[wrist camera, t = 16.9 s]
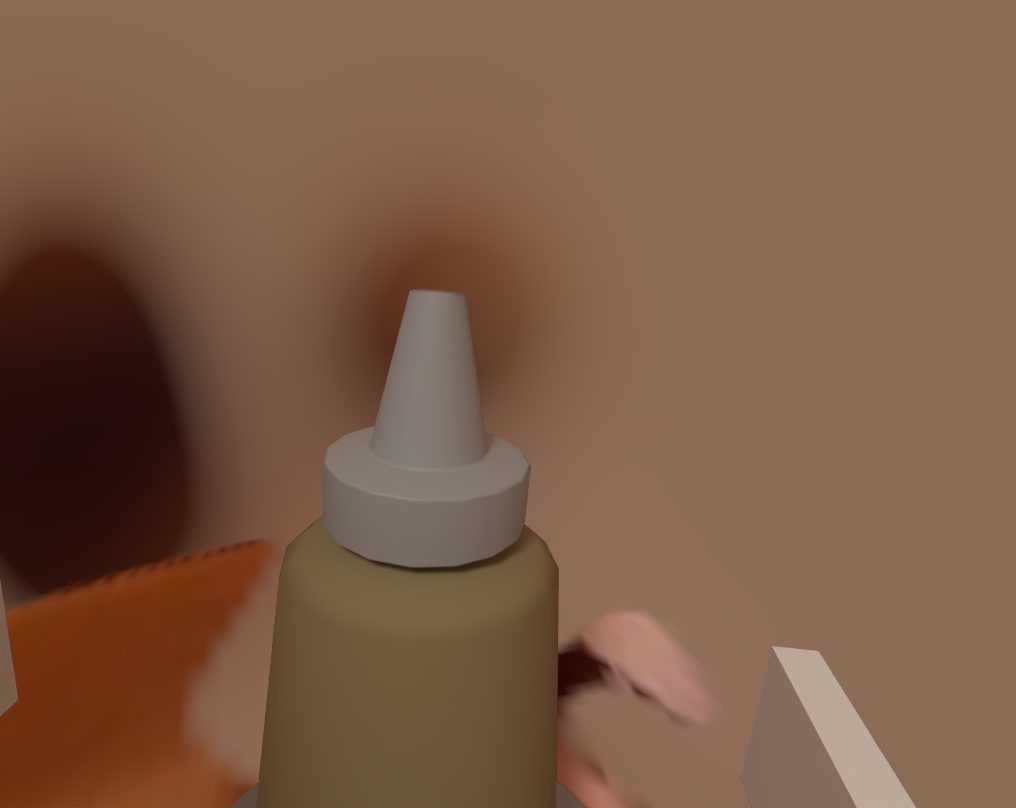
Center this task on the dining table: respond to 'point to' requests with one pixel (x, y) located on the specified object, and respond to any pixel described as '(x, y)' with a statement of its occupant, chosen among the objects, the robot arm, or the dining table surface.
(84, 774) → the dining table surface
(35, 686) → the dining table surface
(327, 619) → the squeeze bottle
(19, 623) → the dining table surface
